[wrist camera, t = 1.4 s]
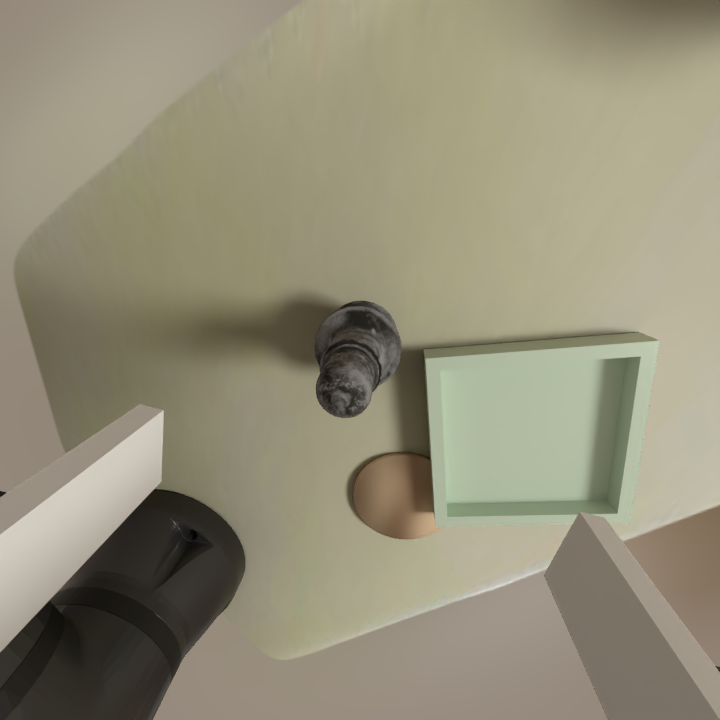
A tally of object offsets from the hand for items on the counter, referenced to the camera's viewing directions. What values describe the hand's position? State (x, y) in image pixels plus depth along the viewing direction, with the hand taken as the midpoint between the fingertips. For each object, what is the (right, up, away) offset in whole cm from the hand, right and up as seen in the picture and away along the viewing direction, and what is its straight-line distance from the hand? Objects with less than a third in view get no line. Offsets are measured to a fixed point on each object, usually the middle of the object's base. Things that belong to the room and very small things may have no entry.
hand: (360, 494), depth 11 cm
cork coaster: (+4, -8, +20) cm, 22 cm away
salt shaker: (0, +6, +16) cm, 17 cm away
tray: (+13, -1, +17) cm, 22 cm away
